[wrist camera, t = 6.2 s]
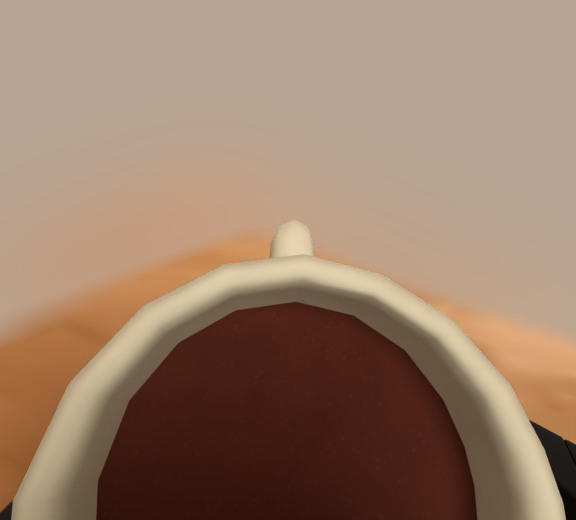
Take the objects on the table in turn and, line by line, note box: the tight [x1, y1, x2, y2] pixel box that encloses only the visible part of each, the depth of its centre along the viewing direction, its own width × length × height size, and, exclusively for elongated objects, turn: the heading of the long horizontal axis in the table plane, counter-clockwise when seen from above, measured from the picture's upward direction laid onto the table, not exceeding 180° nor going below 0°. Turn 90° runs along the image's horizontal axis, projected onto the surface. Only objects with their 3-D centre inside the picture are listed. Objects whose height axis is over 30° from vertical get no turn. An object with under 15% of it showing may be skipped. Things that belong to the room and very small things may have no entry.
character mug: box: [11, 220, 566, 520], centre depth 10 cm, size 11×7×13 cm, turn 179°
